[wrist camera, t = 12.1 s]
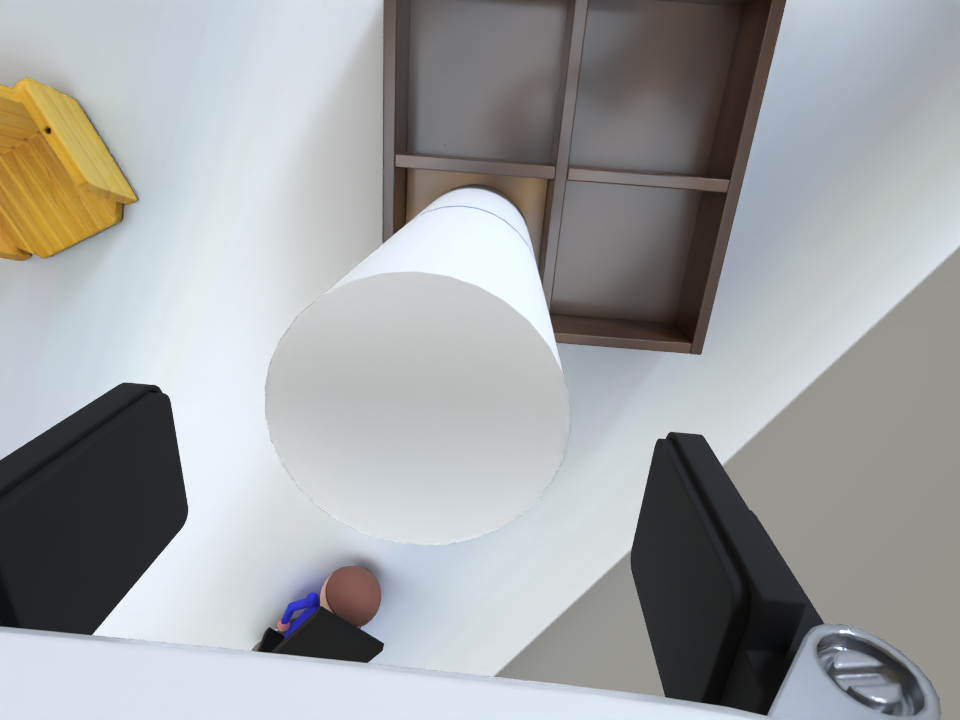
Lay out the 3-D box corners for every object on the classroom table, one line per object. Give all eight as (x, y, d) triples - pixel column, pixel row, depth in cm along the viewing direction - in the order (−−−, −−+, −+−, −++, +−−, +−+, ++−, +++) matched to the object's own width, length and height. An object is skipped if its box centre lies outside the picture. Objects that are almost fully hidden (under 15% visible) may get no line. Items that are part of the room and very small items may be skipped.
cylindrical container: (547, 212, 35) (628, 353, 12) (500, 310, 38) (492, 582, 14) (444, 164, 34) (316, 214, 11) (404, 267, 37) (231, 483, 14)
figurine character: (319, 654, 54) (406, 580, 48) (285, 736, 47) (382, 662, 41) (261, 619, 52) (343, 538, 46) (218, 698, 46) (308, 616, 40)
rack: (753, -5, 31) (793, -28, 27) (679, 331, 38) (701, 355, 34) (400, -31, 31) (383, -58, 27) (395, 308, 39) (381, 328, 34)
